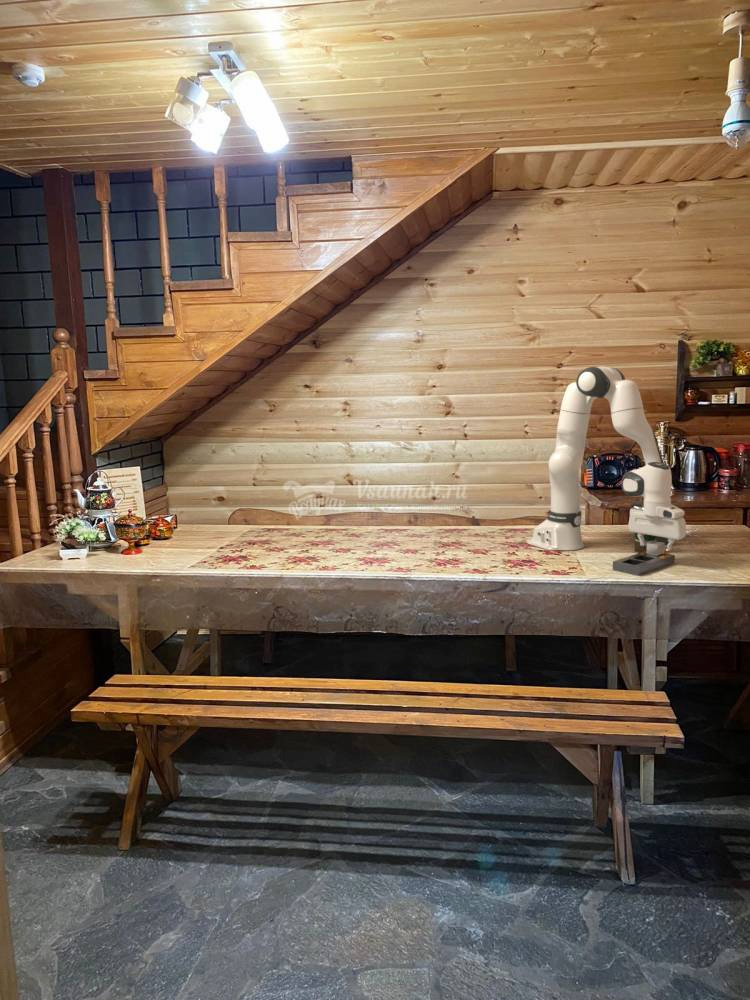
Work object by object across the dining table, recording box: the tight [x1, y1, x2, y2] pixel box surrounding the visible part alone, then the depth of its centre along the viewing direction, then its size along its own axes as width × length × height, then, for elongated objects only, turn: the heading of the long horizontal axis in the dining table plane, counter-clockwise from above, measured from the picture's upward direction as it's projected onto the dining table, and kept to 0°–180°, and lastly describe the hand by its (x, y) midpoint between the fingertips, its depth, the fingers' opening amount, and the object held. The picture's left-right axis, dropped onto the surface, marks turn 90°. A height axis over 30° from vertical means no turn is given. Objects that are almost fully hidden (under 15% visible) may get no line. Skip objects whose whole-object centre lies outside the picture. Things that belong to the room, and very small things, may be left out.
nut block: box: [646, 541, 665, 557], centre depth 258 cm, size 4×4×7 cm
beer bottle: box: [633, 496, 656, 554], centre depth 273 cm, size 8×8×24 cm
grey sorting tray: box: [612, 551, 676, 577], centre depth 253 cm, size 10×22×4 cm, turn 128°
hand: (655, 547), depth 257 cm, fingers open, 8 cm apart
